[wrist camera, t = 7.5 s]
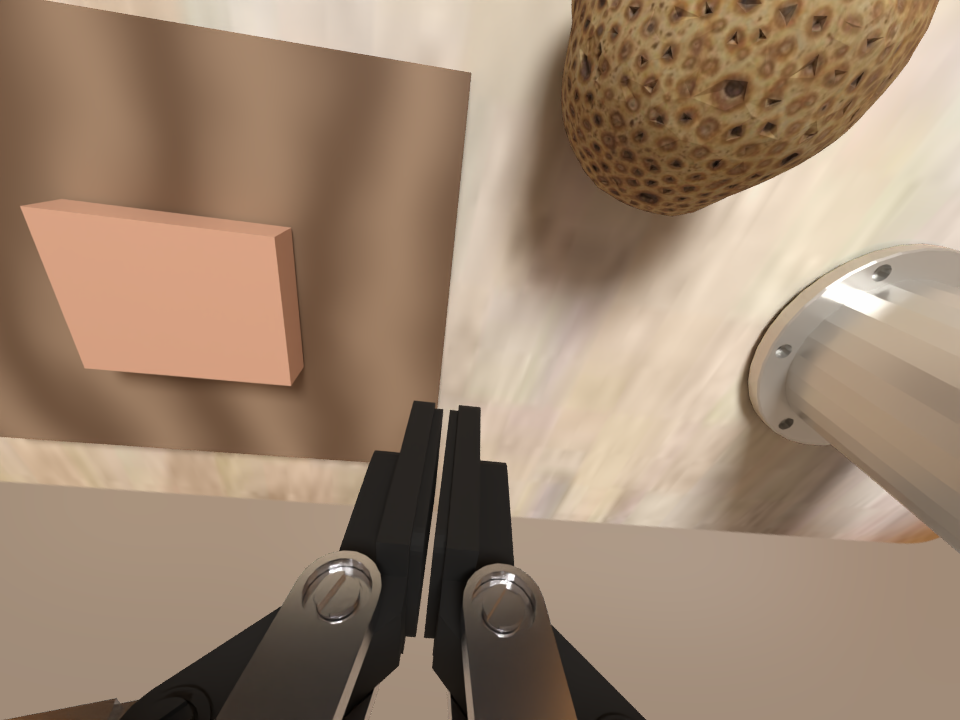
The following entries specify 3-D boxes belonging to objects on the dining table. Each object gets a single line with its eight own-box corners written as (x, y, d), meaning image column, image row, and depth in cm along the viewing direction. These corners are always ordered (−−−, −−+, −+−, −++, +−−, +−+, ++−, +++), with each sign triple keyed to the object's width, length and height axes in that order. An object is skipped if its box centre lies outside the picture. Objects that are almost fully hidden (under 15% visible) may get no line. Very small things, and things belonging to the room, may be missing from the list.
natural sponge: (683, 216, 19) (860, 285, 11) (507, 164, 18) (550, 195, 9) (801, -28, 15) (1251, -235, 7) (583, -121, 14) (791, -545, 5)
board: (470, 77, 16) (471, 72, 15) (432, 449, 26) (431, 466, 25) (-219, -39, 14) (-289, -57, 13) (22, 419, 24) (-4, 436, 22)
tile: (274, 237, 16) (19, 206, 15) (291, 385, 19) (84, 368, 18) (292, 226, 18) (65, 198, 17) (305, 365, 21) (117, 347, 20)
